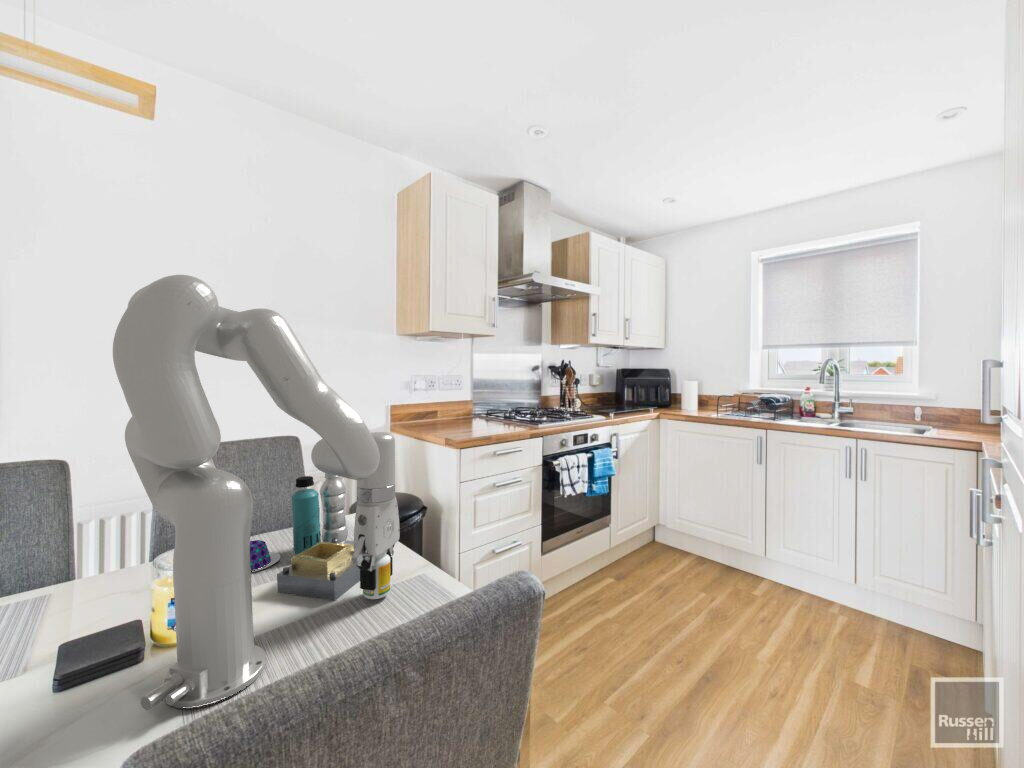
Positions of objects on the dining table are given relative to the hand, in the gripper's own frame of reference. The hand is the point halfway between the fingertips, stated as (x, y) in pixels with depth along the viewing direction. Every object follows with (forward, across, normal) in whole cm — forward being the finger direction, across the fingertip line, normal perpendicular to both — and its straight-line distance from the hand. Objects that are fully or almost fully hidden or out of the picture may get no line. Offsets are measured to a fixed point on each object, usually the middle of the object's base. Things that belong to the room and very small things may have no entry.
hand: (376, 581), depth 88 cm
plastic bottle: (+3, +22, +27) cm, 35 cm away
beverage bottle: (+3, +14, +29) cm, 32 cm away
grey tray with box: (+3, +7, +15) cm, 17 cm away
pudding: (+4, +7, +39) cm, 39 cm away
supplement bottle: (+3, 0, 0) cm, 3 cm away
